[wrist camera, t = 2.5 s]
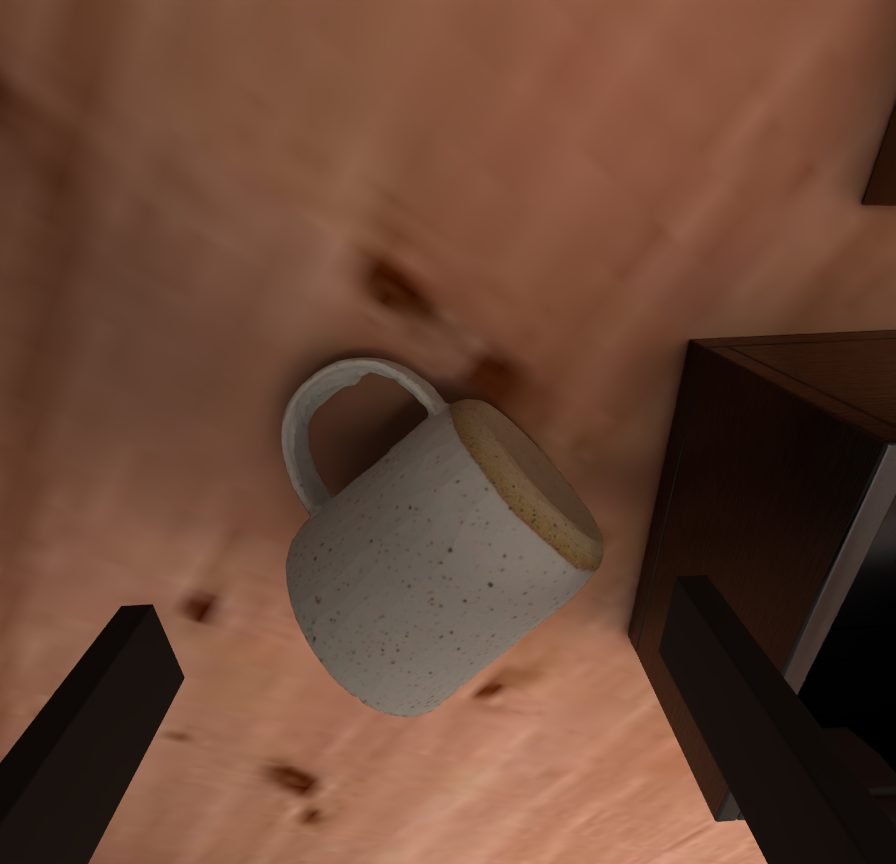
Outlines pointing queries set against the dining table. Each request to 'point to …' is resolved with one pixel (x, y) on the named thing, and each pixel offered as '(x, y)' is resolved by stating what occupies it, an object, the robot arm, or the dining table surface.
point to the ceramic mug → (429, 546)
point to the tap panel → (884, 172)
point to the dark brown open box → (784, 526)
